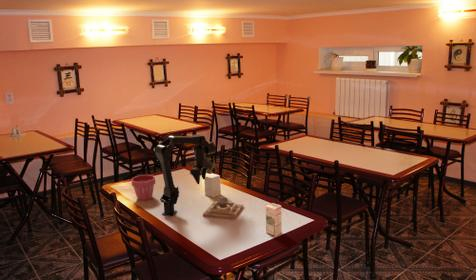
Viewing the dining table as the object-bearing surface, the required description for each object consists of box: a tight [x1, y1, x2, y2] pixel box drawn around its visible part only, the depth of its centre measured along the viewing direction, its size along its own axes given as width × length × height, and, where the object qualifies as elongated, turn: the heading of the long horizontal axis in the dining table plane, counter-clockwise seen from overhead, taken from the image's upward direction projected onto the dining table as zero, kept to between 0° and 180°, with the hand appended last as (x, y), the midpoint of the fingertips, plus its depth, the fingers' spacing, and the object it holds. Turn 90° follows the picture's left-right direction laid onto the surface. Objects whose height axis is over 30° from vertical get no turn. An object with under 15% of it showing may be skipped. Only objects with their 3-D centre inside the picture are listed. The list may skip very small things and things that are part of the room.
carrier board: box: [202, 200, 244, 220], centre depth 241 cm, size 18×18×4 cm
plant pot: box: [130, 174, 156, 201], centre depth 265 cm, size 14×14×13 cm
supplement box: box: [203, 173, 222, 198], centre depth 267 cm, size 7×7×13 cm
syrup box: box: [265, 202, 283, 237], centre depth 211 cm, size 6×6×14 cm
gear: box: [216, 196, 231, 210], centre depth 240 cm, size 8×8×6 cm
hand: (201, 181), depth 253 cm, fingers open, 9 cm apart
